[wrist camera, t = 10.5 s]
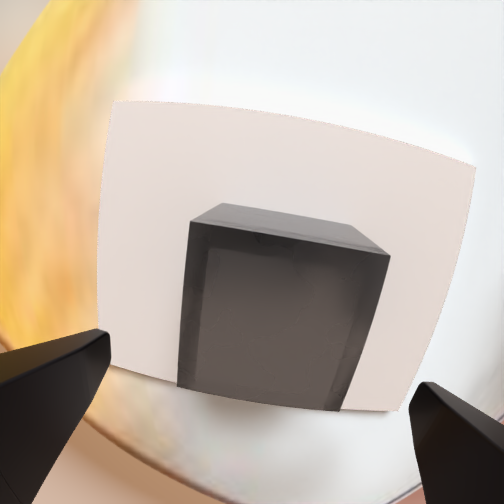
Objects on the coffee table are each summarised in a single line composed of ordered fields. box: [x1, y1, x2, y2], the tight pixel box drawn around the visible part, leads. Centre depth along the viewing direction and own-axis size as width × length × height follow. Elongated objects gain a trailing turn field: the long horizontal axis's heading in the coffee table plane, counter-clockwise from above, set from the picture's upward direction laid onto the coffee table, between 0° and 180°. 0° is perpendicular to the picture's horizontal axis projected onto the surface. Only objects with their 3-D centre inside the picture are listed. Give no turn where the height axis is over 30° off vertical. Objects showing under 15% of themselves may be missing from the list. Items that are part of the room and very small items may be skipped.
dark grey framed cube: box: [177, 203, 391, 412], centre depth 13 cm, size 6×6×6 cm
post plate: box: [97, 101, 476, 411], centre depth 15 cm, size 20×16×5 cm
